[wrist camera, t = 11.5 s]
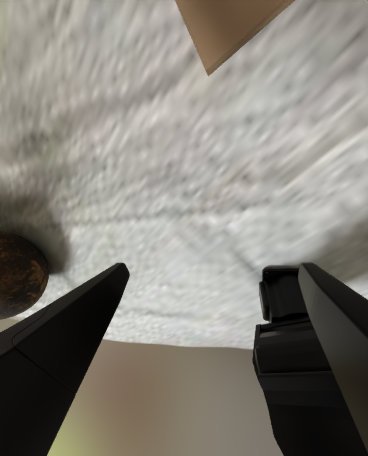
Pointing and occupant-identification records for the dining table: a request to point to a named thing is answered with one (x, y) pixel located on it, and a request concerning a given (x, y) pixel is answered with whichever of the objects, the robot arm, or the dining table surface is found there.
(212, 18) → the housing board
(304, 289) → the robot arm
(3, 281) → the glass bottle
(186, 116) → the dining table surface
